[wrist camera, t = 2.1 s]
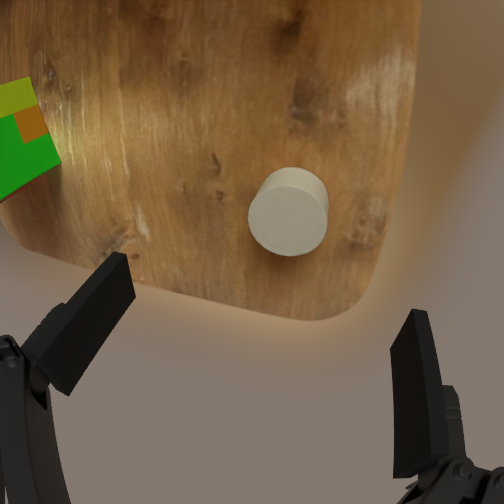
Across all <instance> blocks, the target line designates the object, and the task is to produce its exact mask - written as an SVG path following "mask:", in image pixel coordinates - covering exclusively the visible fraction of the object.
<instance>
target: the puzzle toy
mask: <svg viewBox="0 0 504 504" xmlns="http://www.w3.org/2000/svg"><path fill="white" fill-rule="evenodd" d="M59 163H61V161H60V159H59V156H58V154H57V152H56V149H55V147H54V144H53V142H52V139H51V137H50V134H49V132H48V129H47V126H46V124H45V121H44V119H43V116H42V113H41V110H40V107H39V105H38V102H37V99H36V96H35V93H34V90H33V87H32V83H31V80H30V77H27V78H23V79H19V80H16V81H12V82H9V83H5V84H2V85H0V203H2V202H3V201H5V200H6V199H8V198H9V197H11V196H12V195H14V194H15V193H17V192H18V191H20V190H21V189H22V188H24V187H25V186H26V185H28V184H29V183H31V182H32V181H34V180H35V179H37V178H38V177H39V176H41V175H42V174H44V173H45V172H47V171H48V170H50V169H51V168H53V167H55V166H56V165H58V164H59Z"/></svg>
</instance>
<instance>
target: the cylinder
mask: <svg viewBox="0 0 504 504" xmlns="http://www.w3.org/2000/svg"><path fill="white" fill-rule="evenodd" d="M248 223H249V227H250V230H251V233H252V235H253V236H254V238H255V239H256V240H257V242H258V243H259V244H260V245H262V246H263V247H264V248H266V249H267V250H269V251H271V252H273V253H276V254H279V255H283V256H298V255H303V254H306V253H308V252H310V251H312V250H313V249H315V248H316V247H317V246H318V245H319V244H320V243H321V242H322V240H323V239H324V237H325V234H326V231H327V225H328V193H327V190H326V188H325V186H324V184H323V183H322V181H321V180H320V179H319V178H318V177H317V176H316V175H314V174H313V173H311V172H309V171H307V170H305V169H302V168H297V167H287V168H282V169H279V170H277V171H275V172H273V173H271V174H270V175H269V176H268V177H267V178H266V179H265V181H264V182H263V184H262V185H261V187H260V189H259V191H258V193H257V194H256V196H255V198H254V200H253V202H252V203H251V206H250V208H249V212H248Z"/></svg>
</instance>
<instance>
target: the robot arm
mask: <svg viewBox="0 0 504 504" xmlns="http://www.w3.org/2000/svg"><path fill="white" fill-rule="evenodd" d="M135 298H136V295H135V291H134V287H133V283H132V278H131V274H130V270H129V265H128V260H127V255H126V254H123V253H118V252H113V253H112V254H111V255H110V256H109V257H108V258H107V259H106V260H105V261H104V262H103V263H102V264H101V265H100V266H99V267H98V269H97V270H96V271H95V272H94V273H93V274H92V275H91V276H90V277H89V278H88V279H87V281H86V282H85V283H84V284H83V285H82V286H81V287H80V288H79V290H78V291H77V292H76V293H75V294H74V295H73V296H72V298H71V299H70V300H69V301H68V302H67V303H66V304H64V303H60V304H59V305H57V306H56V307H54V308H53V309H52V310H51V311H50V312H49V313H48V314H47V316H46V318H44V319H43V320H42V322H41V324H40V325H38V326H37V328H36V329H35V330H34V331H33V332H32V334H31V335H30V336H29V337H28V339H27V340H26V341H25V342H24V344H23V345H22V346H21V347H19V346H18V344H17V343H16V341H15V340H14V338H13V337H12V336H10V335H3V336H0V504H5V487H6V492H7V498H8V503H9V504H71V502H70V498H69V495H68V491H67V487H66V484H65V480H64V475H63V471H62V467H61V462H60V458H59V452H58V447H57V441H56V436H55V429H54V423H53V415H52V407H51V397H50V390H49V387H48V385H49V384H50V382H51V384H52V385H53V386H54V387H55V389H56V390H58V391H60V392H61V393H63V394H65V395H67V396H69V395H70V394H71V392H72V390H73V389H74V387H75V386H76V384H77V383H78V381H79V380H80V378H81V376H82V375H83V373H84V372H85V370H86V369H87V367H88V365H89V364H90V362H91V361H92V360H93V358H94V357H95V355H96V354H97V352H98V350H99V349H100V348H101V346H102V345H103V343H104V342H105V340H106V338H107V337H108V336H109V334H110V333H111V331H112V330H113V329H114V327H115V326H116V324H117V323H118V321H119V320H120V319H121V317H122V316H123V314H124V313H125V311H126V310H127V309H128V307H129V306H130V304H131V303H132V302H133V300H134V299H135ZM390 354H391V366H392V382H393V403H394V466H393V478H411V477H413V476H415V475H416V474H418V480H417V481H416V482H414V483H412V484H410V485H408V486H407V487H406V489H409V488H410V489H409V490H408V492H407V493H406V494H405V495H404V496H403V497H402V498H401V500H400V501H399V502H398V503H397V504H504V467H498V468H496V469H494V470H493V471H489V470H485V469H482V468H478V467H475V466H474V464H473V462H472V461H471V459H469V458H467V456H466V452H465V442H464V433H463V425H462V420H461V411H460V404H459V398H458V395H457V393H456V392H455V389H454V388H453V386H448V385H442V381H441V375H440V369H439V364H438V358H437V354H436V349H435V345H434V339H433V335H432V330H431V327H430V322H429V318H428V314H427V311H424V310H417V309H411V311H410V313H409V315H408V317H407V319H406V321H405V323H404V325H403V326H402V328H401V330H400V332H399V334H398V336H397V337H396V339H395V341H394V343H393V345H392V346H391V348H390Z"/></svg>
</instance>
